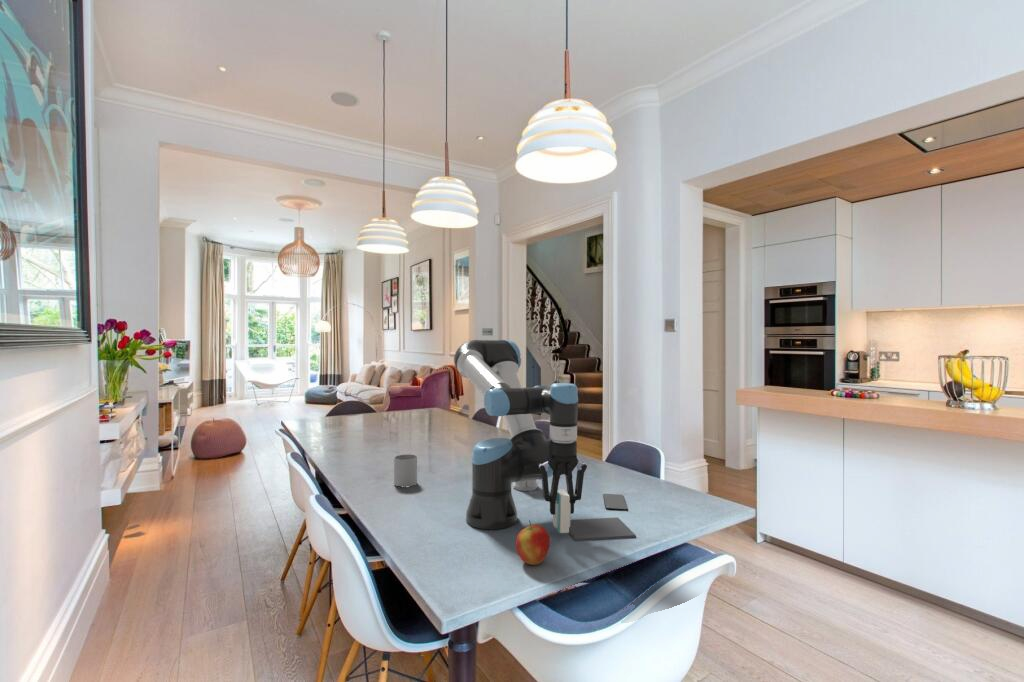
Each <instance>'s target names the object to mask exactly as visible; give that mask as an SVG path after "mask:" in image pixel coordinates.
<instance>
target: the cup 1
mask: <svg viewBox="0 0 1024 682" xmlns="http://www.w3.org/2000/svg"><path fill="white" fill-rule="evenodd" d="M415 484H416V485H418V455H415V454H409V453H407V454H398V455H396V456H394V457H393V486H394V485H396V486H401V487H402V486H403V487H406V486H412V487H414V486H413V485H415ZM416 485H415V486H416ZM396 486H395V487H396ZM406 488H407V487H406Z"/></svg>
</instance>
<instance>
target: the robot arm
mask: <svg viewBox="0 0 1024 682" xmlns="http://www.w3.org/2000/svg"><path fill="white" fill-rule="evenodd" d="M521 354H522V353H521V351H520V348H519V346H518V344H516V342H514V341H512V340H506V339H497V340H494V339H493V340H492V339H472V340H468V341H465V342H464V343H462V344H461V345H460V346H459V347H458V348H457V349H456V351H455V352H454V356H453V364H454V367H455V368H456V370H457V372H458V373H459V374H460V375H462V376H463V377H466V378H467V379H469V380H470V382H471V384H473V385H474V386H475V388H477V390H478V391H479V392H480V393H481V394H482V396H483V406H484V408H485V412H486V414H488V416H492V417H493V416H494V417H504V419H505V421H506V424H507V427H508V430H509V431H508V432H509V434H510V438H506V437H499V438H498V437H494V438H488V439H484V440H481V441H479V442H478V443H476V444H475V445H474V447H473V449H472V458H471V464H472V467H471V468H472V471H471V474H472V475H471V476H472V479H471V480H472V484H471V486H472V487H471V488H472V492H471V497H470V501H469V504H468V506H467V509H466V512H465V513H466V514H465V518H466V519H465V521H466V523H467V524H468V525H469V526H471V527H473V528H475V529H476V528H477V529H480V530H481V529H482V530H500V529H505V528H510V527H511V526H514V525H515V524H516V523H517V522H518V511H517V507H516V504H515V500H514V498H513V494H512V483H514V482H520V481H528V480H536V481H537V480H541V485H542V486H541V487H542V497H543V499H544V501H545V502H548V503H549V513H550V514H551V515H552V524H553V526H554V528H555V529H557V528H558V503H557V501H556V497H557V491H558V489H559V484H560V483H559V482H560V479H561V476H562V475H564V476H565V482H566V483H565V484H566V492H567V493H568V494H569V496H570V501H569V527H570V520H571V515H573V514H574V512H575V503H576V501H581V499H582V494H583V485H584V484H583V483H584V477H585V473H586V471H587V468H588V465H587V464H586V463H584V462H583V461H579V459H578V457H577V453H578V442H577V439H578V415H579V414H578V410H579V395H578V394H579V393H578V392H579V391H578V390H579V389H578V386H577V385H576V384H574V383H569V382H554V383H552V384H551V385H550V386H547V385H535V386H532V387H522V385H521V383H520V380H519V377H518V373H519V369H520V367H521V365H522V358H521V356H522V355H521ZM533 414H547V415H549V435H548V436H549V437H548V438H546V437H545V434H544V432H543V430H541V429H540V428H537V425H536V423H535V421H534V418H533V417H534V416H533ZM575 468H576V469H577V471H576V478H575V486H574V484H573V483H574V482H573V471H574V470H575ZM550 477H552V479H551V480H552V481H551V485H550V486H551V487H550V489H549V478H550ZM574 487H575V488H574Z"/></svg>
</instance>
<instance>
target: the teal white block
mask: <svg viewBox="0 0 1024 682" xmlns="http://www.w3.org/2000/svg"><path fill="white" fill-rule="evenodd" d="M556 501H557V503H558V528H556V530H557V532H558V534H567V533H568V534H570V532H569V501H570V496H569V494H568V493H567V489H565V488H558V491H557V497H556Z"/></svg>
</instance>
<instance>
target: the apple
mask: <svg viewBox="0 0 1024 682" xmlns="http://www.w3.org/2000/svg"><path fill="white" fill-rule="evenodd" d="M528 522H529V525H528V526H527V527H524V528H523V529H521V530H520V531H519V532H518V534H517V535H516V540H515V545H516V546H515V547H516V551H517V554H518V556H519V557H520V559H521V560H522V561H523V562H524V563H525V564H527V565H530V566H536V565H539V564H541V563H542V562H543V561H544V560H545V559H546V557H547V555H548V553H549V550H550V544H551V538H550V535H549V533H548V531H547V530H546V529H545V528H544V527H543V526H542V525H540V524H536V523H535V524H532V523H531V519H530V520H528Z"/></svg>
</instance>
